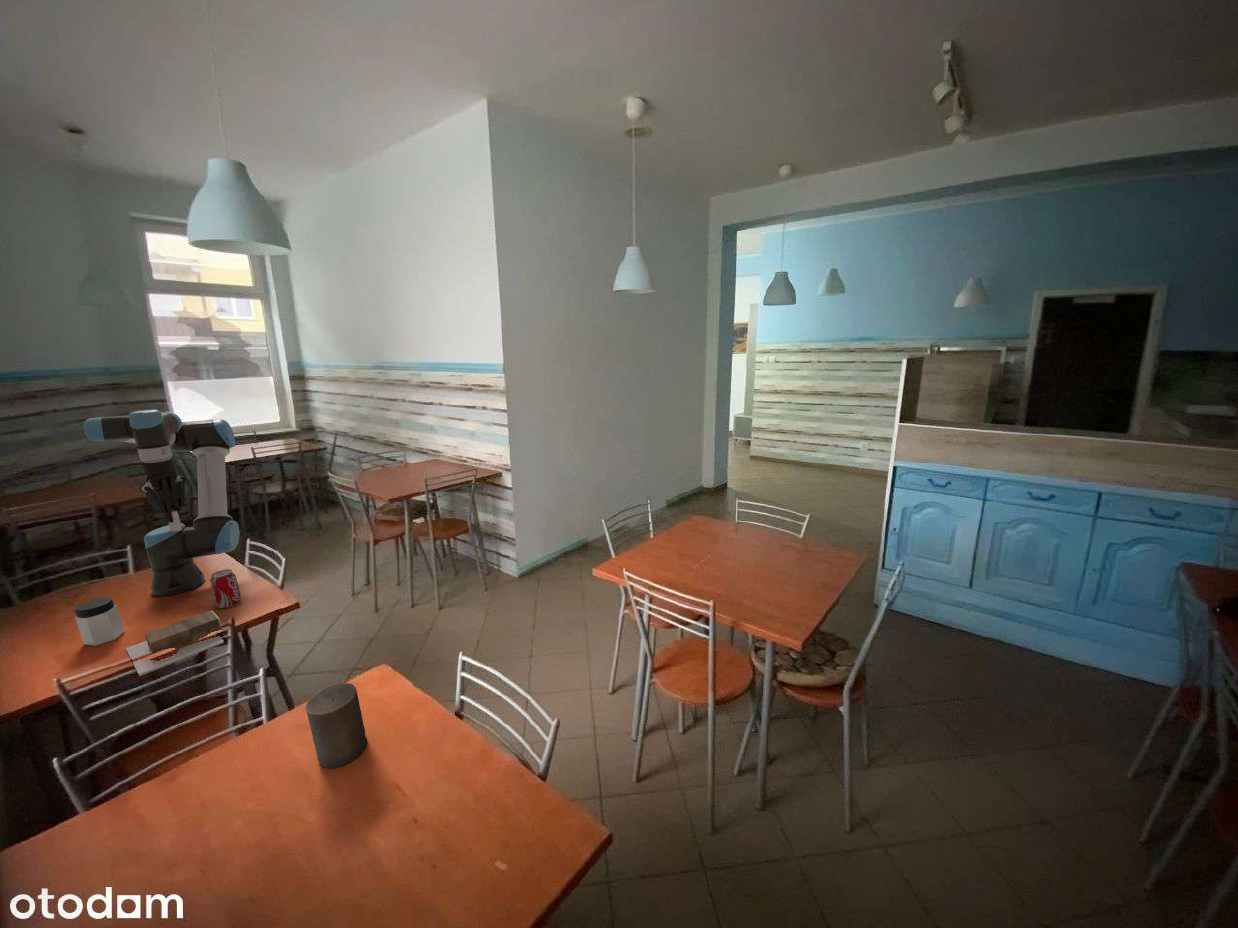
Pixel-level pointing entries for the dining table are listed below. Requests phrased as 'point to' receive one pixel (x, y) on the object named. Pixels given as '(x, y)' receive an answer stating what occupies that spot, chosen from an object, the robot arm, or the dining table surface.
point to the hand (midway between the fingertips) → (176, 530)
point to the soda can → (225, 588)
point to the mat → (183, 653)
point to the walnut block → (183, 632)
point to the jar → (98, 621)
